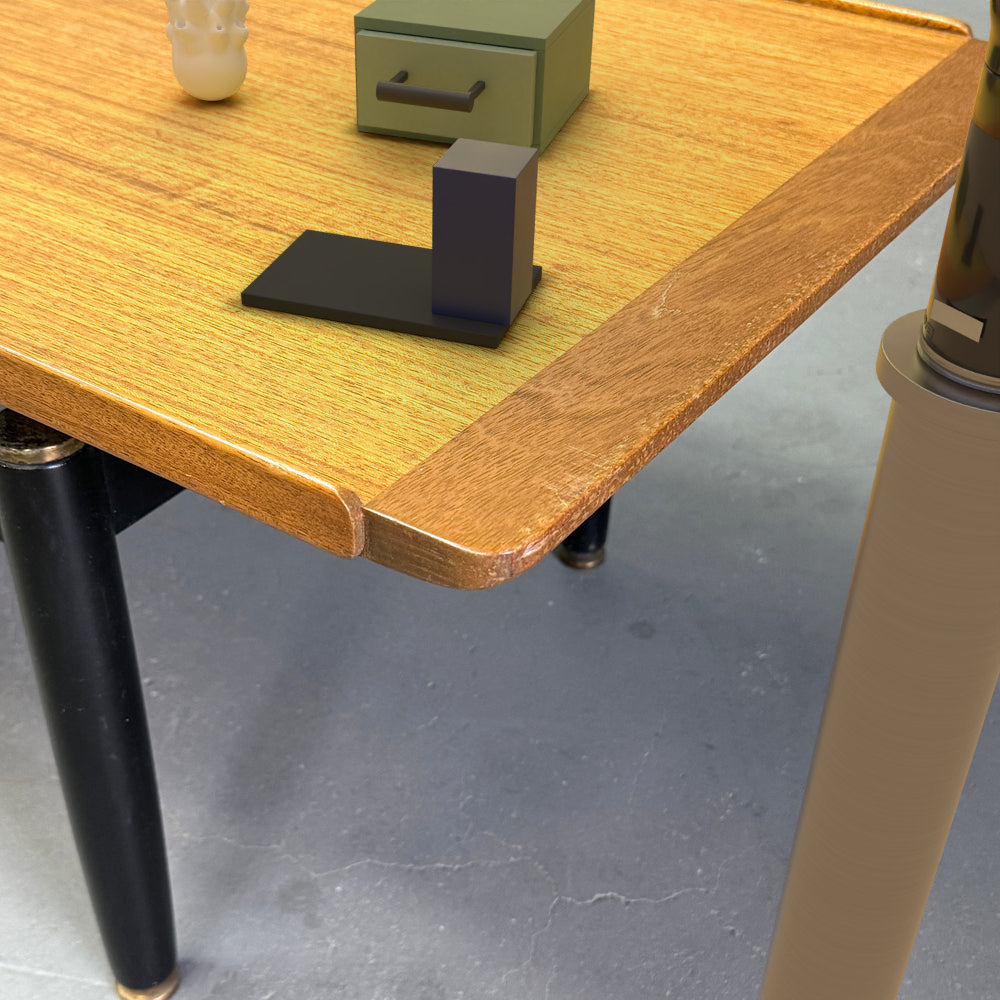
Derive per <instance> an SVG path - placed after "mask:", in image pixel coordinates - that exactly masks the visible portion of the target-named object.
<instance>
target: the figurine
mask: <svg viewBox="0 0 1000 1000" xmlns="http://www.w3.org/2000/svg"><path fill="white" fill-rule="evenodd" d="M164 3H165V6H166V8H167V13H166V14H167V18H168V21H169V22H167V24H166V26H165V31H164V32H165V36H166V38H167V40H168V41H169V42H170V43H171V65H172V66H171V67H172V71H173V74H174V77H175V79H176V81H177V83H178V84H179V86H180V87H181V88H182V89H183V91H185V92H186V93H187V94H188V95H190V96H192V97H194V98H195V99H198V100H202V101H209V102H216V101H221V100H226V99H228V98H229V97H231V96H233V95H235V94H236V93H237V92H238V91H239V90H240V89H241V87H242V86H243V84H244V82H245V81H246V77H247V73H248V56H247V52H246V48H245V44H246V43H247V40H248V39H249V38H248V37H249V34H250V33H249V32H250V31H249V28H248V26H247V25H246V24H245V23H246V20H247V14H248V12H249V11H250V2H249V0H164Z"/></svg>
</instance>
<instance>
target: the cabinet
mask: <svg viewBox="0 0 1000 1000" xmlns="http://www.w3.org/2000/svg"><path fill="white" fill-rule="evenodd" d="M595 10H596V0H374V1H372V2H371V3H370V4H368V5H367V6H366V7H365V8H363V9H361V10H360V11H358V13H356V14H354V15H353V25H354V26H353V28H354V29H353V35H354V66H355V67H354V68H355V69H354V70H355V71H354V73H355V106H356V108H355V109H356V131H357V132H363V133H370V134H377V135H385V136H391V137H399V138H406V139H413V140H420V141H427V142H428V141H429V142H434V143H435V142H436V143H440V144H449V145H453V144H454V143H455V142H456V141H457V138H450V137H443V136H436V135H428V134H421V133H414V132H407V131H400V130H392V129H385V128H378V127H371V126H364V125H358V93H357V55H356V34H357V33H358V32H360V31H361V30H366V31H375V32H379V31H385V32H393V33H401V34H410V35H418V36H426V37H434V38H442V39H450V40H458V41H467V42H475V43H483V44H491V45H499V46H507V47H516V48H524V49H532V50H534V51H536V52H537V64H536V85H535V106H534V127H533V143H532V145H531V146H530V147H529V148H537V149H539V155H538V157H541V156H542V154H543V153H544V152H545V150H547V148H548V146H549V145H550V144H551V143H552V141H553V140H554V139H555V137H556V136H557V135H558V133H559V132H560V131H561V129H562V128H563V127H564V126H565V125H566V123H567V122H568V120H569V119H570V118H571V117H572V115H573V114H574V113H575V111H576V110H577V109H578V107H579V106H580V105H581V104H582V102H583V101H584V100H585V99H586V97H587V95H589V93H590V84H591V83H590V81H591V69H592V57H593V56H592V54H593V43H594V42H593V41H594V27H595V12H596V11H595Z"/></svg>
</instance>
